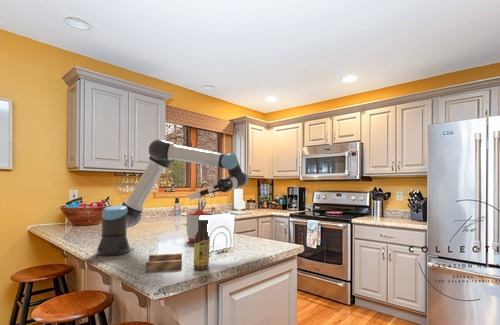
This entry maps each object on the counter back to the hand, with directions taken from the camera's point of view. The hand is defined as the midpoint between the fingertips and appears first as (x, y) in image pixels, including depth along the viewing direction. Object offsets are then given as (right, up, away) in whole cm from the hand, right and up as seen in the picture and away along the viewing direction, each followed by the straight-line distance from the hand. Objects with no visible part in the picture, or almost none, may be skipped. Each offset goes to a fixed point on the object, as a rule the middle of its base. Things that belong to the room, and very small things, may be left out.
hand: (198, 193), depth 135 cm
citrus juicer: (-7, -34, +40) cm, 53 cm away
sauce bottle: (+4, -30, -17) cm, 34 cm away
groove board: (-12, -30, -13) cm, 35 cm away
